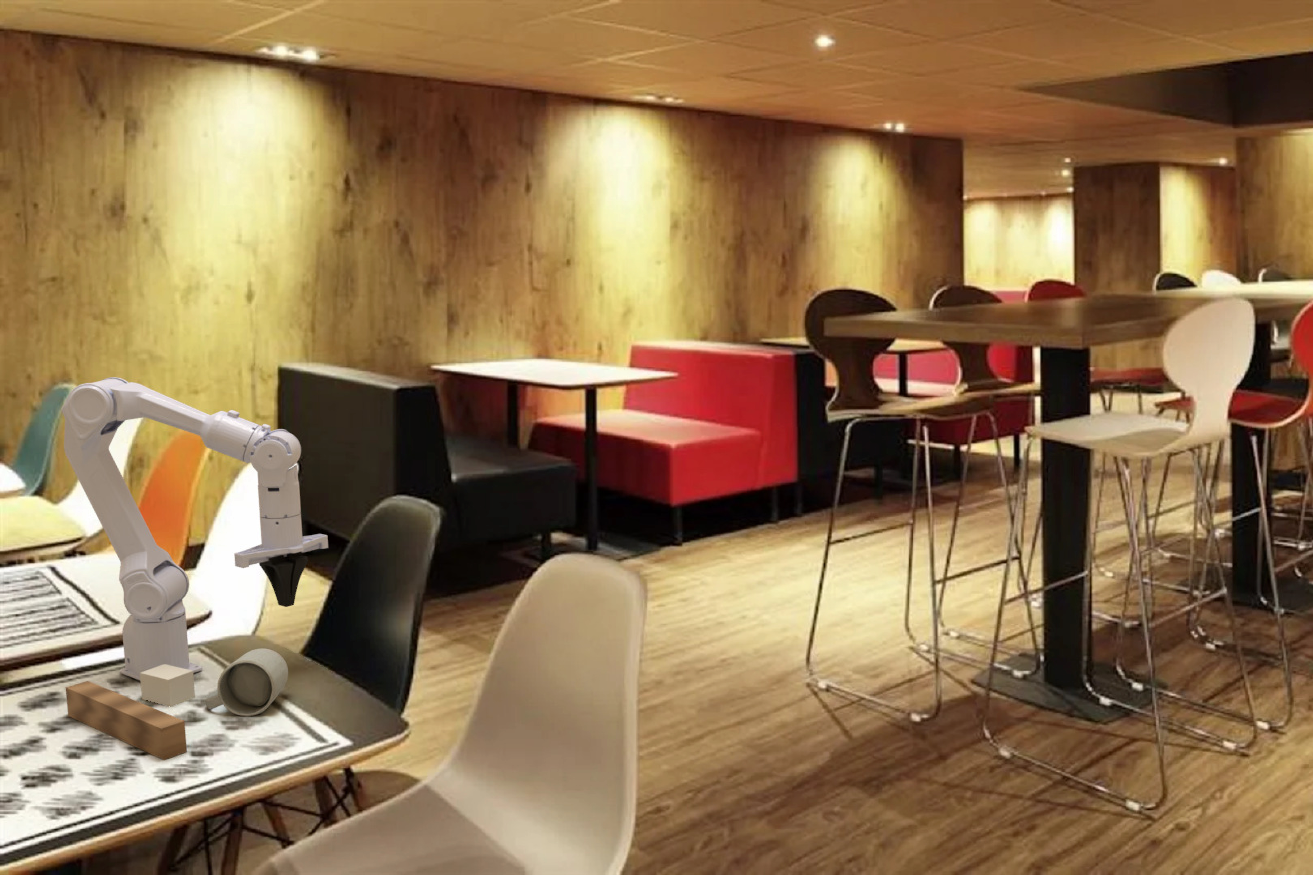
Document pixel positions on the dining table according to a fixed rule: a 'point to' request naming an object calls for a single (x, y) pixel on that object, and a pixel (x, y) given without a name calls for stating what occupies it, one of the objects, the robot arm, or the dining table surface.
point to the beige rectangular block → (167, 685)
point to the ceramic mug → (250, 683)
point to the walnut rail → (127, 719)
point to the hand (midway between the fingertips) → (286, 604)
